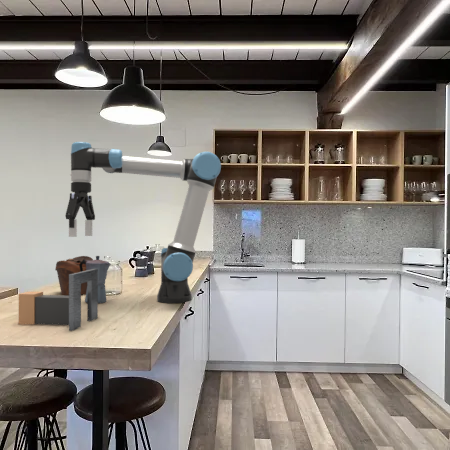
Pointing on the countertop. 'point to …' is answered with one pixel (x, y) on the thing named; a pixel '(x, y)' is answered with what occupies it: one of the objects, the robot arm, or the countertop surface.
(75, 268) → the case
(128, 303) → the countertop surface
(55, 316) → the plug
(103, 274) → the moka pot
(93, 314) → the grey arch
